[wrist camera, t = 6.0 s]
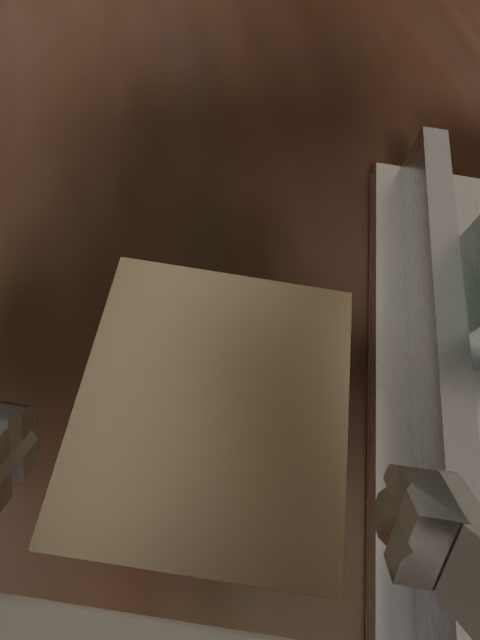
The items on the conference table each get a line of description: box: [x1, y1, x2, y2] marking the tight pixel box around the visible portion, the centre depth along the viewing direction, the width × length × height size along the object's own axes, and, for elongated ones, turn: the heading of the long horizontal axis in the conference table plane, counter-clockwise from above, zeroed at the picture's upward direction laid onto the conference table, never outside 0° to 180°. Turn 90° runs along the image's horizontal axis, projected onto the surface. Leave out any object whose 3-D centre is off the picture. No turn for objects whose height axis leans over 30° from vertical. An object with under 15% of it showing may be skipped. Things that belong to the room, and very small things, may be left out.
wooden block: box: [28, 257, 352, 600], centre depth 12 cm, size 4×6×10 cm
